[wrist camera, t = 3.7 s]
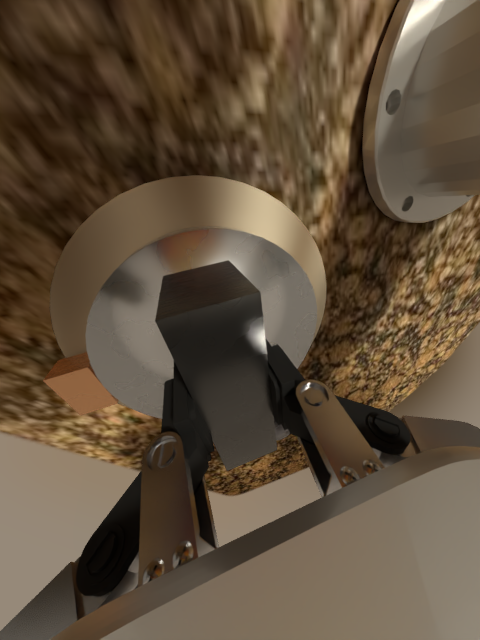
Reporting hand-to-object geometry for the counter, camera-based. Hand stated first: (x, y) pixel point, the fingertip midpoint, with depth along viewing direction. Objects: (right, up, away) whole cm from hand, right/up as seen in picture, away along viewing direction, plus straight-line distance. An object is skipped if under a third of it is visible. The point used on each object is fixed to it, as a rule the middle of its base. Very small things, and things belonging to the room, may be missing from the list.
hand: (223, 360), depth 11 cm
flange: (-2, +1, +2) cm, 3 cm away
